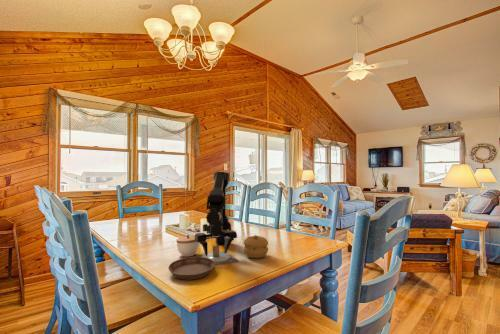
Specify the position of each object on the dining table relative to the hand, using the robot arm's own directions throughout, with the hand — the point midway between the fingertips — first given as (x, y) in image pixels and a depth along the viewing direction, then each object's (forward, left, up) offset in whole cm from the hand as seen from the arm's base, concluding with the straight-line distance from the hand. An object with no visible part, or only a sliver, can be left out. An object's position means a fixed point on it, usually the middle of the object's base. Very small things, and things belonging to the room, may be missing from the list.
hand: (215, 254), depth 120 cm
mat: (0, 0, -2) cm, 2 cm away
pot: (-18, +5, -2) cm, 19 cm away
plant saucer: (+14, +12, -2) cm, 19 cm away
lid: (0, 0, -2) cm, 2 cm away
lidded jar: (+10, -11, -2) cm, 15 cm away
